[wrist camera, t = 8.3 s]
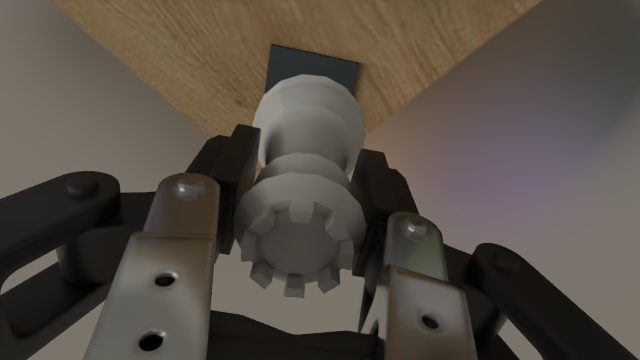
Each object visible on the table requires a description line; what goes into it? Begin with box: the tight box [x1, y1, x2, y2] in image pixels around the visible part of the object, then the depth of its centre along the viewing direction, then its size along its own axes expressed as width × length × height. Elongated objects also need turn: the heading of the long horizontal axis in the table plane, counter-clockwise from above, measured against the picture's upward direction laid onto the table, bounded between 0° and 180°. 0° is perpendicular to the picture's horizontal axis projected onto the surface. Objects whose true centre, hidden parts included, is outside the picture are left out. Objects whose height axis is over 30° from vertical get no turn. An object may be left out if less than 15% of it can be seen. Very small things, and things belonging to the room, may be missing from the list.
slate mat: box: [265, 44, 359, 95], centre depth 29 cm, size 7×4×1 cm, turn 78°
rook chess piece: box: [234, 74, 367, 298], centre depth 12 cm, size 4×4×8 cm
